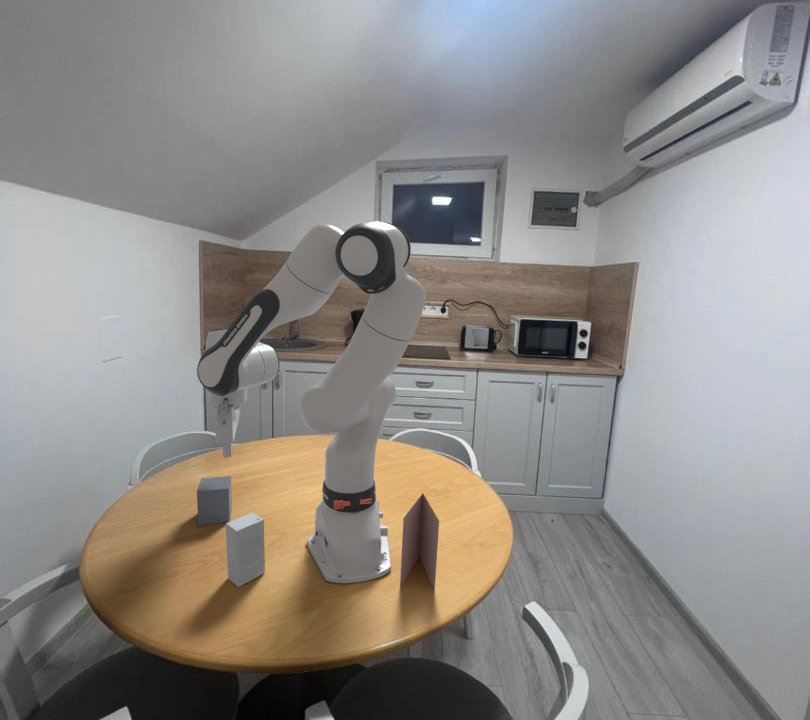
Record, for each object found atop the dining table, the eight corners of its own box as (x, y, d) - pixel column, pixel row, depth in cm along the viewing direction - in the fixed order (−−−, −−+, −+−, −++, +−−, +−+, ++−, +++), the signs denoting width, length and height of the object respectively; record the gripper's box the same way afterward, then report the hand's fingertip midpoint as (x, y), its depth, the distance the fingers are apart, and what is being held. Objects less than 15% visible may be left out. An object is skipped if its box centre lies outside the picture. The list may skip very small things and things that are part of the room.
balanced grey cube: (229, 521, 106) (228, 488, 104) (198, 525, 104) (196, 491, 102) (231, 507, 112) (231, 476, 111) (202, 510, 110) (201, 478, 109)
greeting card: (415, 554, 96) (419, 492, 94) (447, 563, 94) (452, 499, 91) (395, 586, 86) (399, 517, 83) (431, 597, 83) (436, 526, 81)
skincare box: (253, 564, 91) (253, 511, 88) (265, 573, 88) (265, 519, 86) (226, 578, 86) (224, 523, 84) (237, 588, 83) (236, 531, 81)
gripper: (238, 404, 95) (240, 464, 97) (243, 384, 114) (245, 434, 116) (207, 406, 93) (209, 467, 95) (218, 385, 112) (220, 436, 114)
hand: (229, 449), depth 106 cm, fingers open, 8 cm apart
